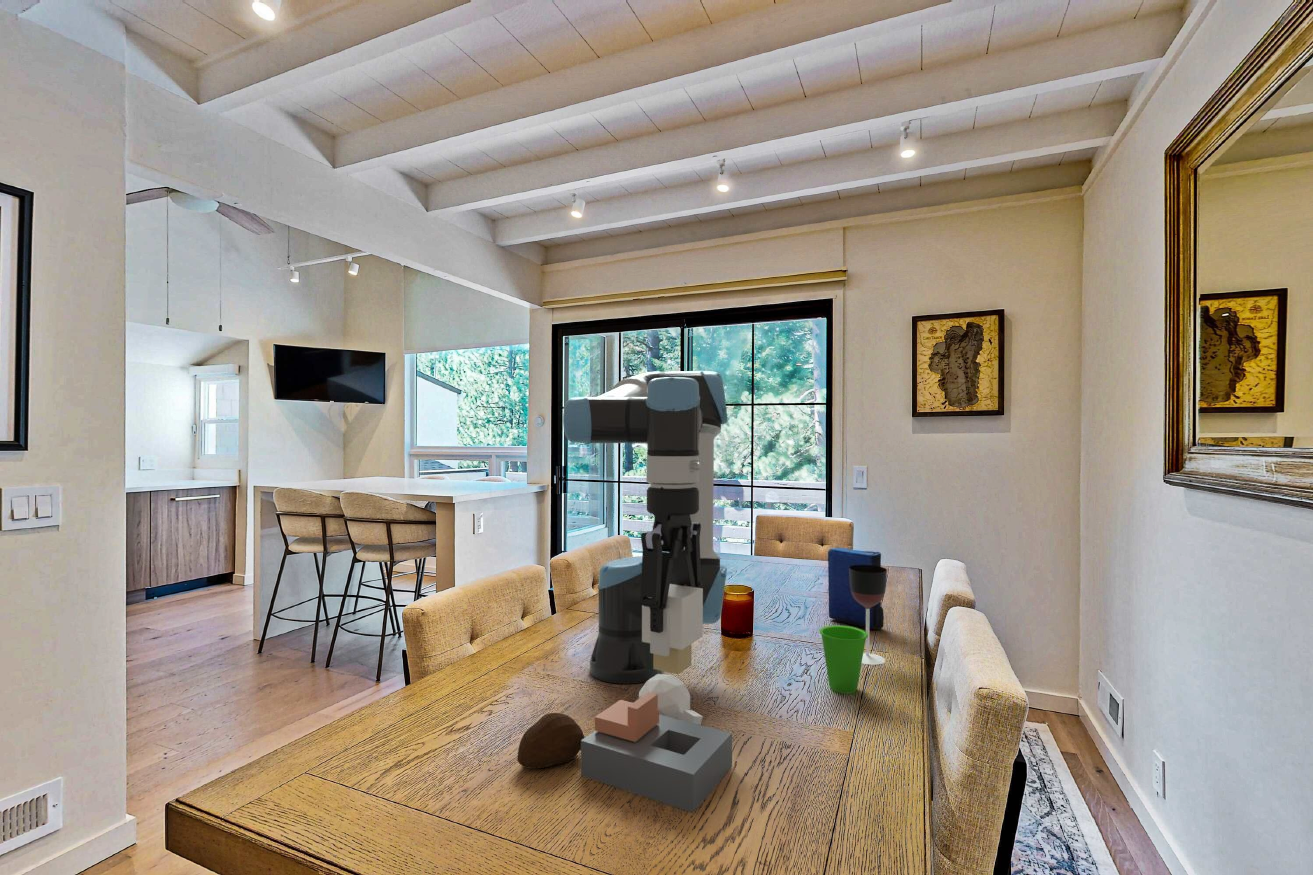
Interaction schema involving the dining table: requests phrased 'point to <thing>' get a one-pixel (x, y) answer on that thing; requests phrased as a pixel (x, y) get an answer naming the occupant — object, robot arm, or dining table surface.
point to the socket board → (661, 762)
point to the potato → (550, 741)
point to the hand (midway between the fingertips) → (672, 646)
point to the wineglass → (868, 597)
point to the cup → (843, 656)
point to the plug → (678, 627)
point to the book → (840, 591)
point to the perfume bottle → (671, 698)
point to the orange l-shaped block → (629, 718)
